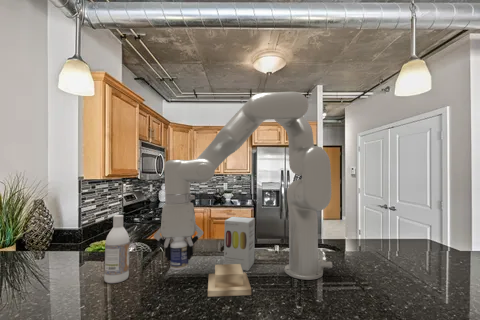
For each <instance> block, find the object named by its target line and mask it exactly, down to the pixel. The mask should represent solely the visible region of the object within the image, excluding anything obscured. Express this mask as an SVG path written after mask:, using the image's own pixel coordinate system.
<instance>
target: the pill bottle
mask: <svg viewBox="0 0 480 320" xmlns="http://www.w3.org/2000/svg"><path fill="white" fill-rule="evenodd" d="M171 240H172V241H171V242H170V261H169V263H170V264H169V265H170V269H172V270H175V271H177V270H178V271H179V270H184V269H186V268H188V267H189V260H188V244H189V243H188V240H187V238H186V237H175V238H171Z"/></svg>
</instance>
